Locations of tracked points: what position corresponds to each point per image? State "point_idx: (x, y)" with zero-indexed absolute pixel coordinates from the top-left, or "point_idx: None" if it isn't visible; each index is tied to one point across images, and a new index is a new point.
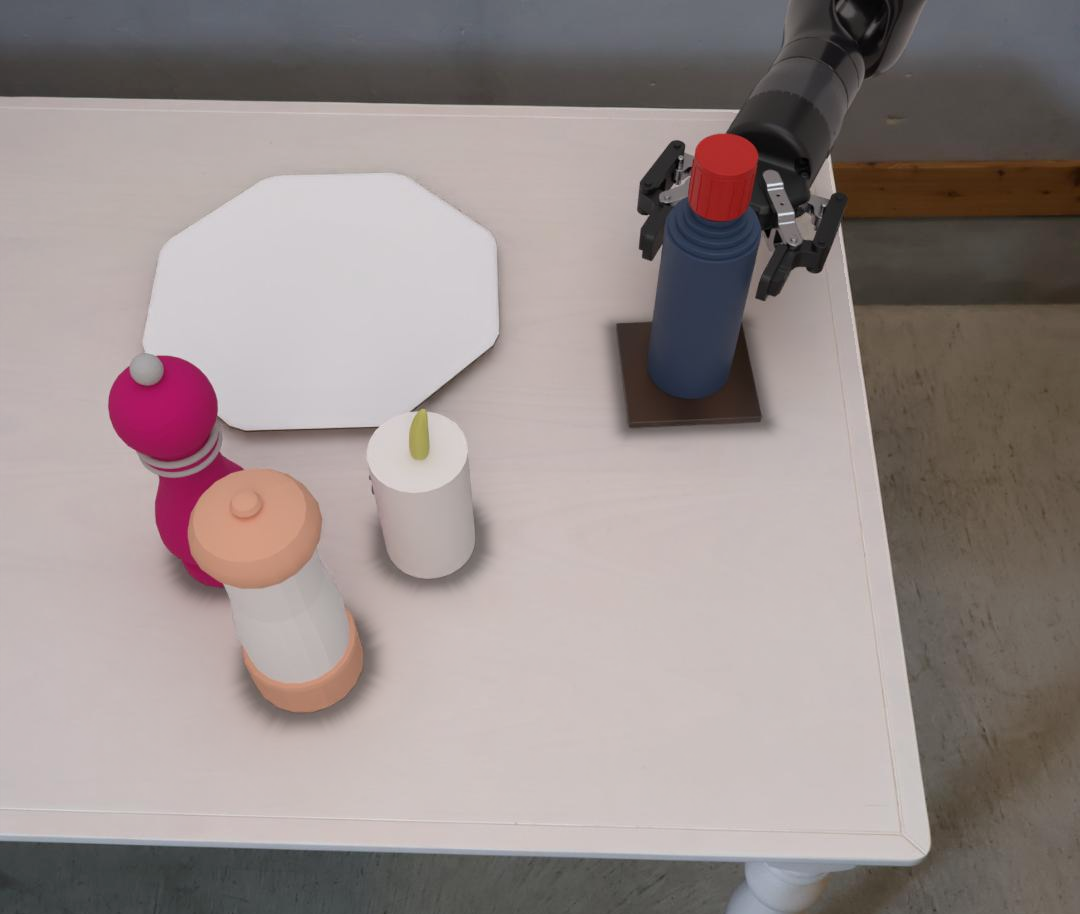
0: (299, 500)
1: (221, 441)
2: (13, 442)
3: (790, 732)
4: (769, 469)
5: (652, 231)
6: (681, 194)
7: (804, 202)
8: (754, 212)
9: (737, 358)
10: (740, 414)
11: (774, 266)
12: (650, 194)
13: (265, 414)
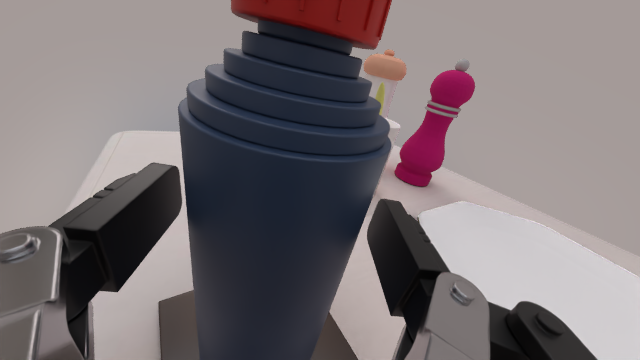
0: (379, 56)
1: (432, 110)
2: (504, 195)
3: (170, 150)
4: (158, 258)
5: (397, 208)
6: (447, 318)
7: None
8: (200, 100)
9: None
10: (186, 296)
11: (136, 180)
12: (505, 317)
13: (464, 208)
